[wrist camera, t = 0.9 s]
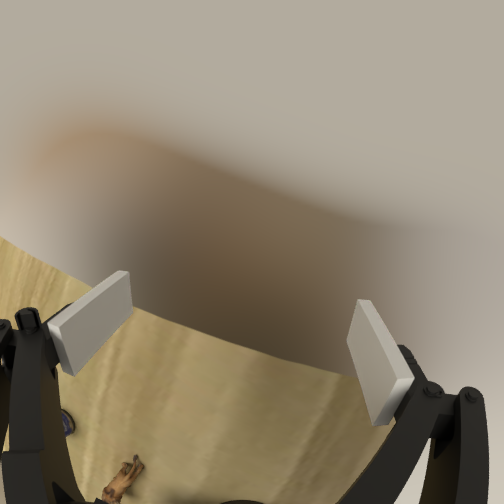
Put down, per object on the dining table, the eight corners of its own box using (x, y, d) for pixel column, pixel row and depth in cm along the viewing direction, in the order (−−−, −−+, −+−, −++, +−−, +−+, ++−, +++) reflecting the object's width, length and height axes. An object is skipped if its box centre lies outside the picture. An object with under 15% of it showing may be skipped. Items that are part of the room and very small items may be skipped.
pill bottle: (79, 424, 40) (51, 442, 29) (69, 437, 39) (42, 455, 28) (59, 402, 41) (29, 416, 30) (50, 417, 39) (21, 431, 29)
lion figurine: (131, 498, 37) (118, 519, 28) (109, 486, 37) (94, 506, 28) (147, 459, 40) (133, 482, 31) (123, 447, 40) (106, 466, 31)
